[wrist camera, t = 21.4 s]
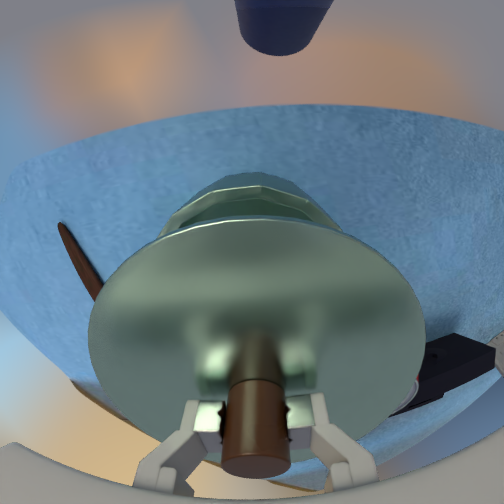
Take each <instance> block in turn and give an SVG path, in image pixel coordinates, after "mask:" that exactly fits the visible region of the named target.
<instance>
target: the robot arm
mask: <svg viewBox="0 0 504 504" xmlns="http://www.w3.org/2000/svg"><path fill="white" fill-rule="evenodd" d="M285 405H286V415H287V430H288V438H289V445H290V450H297V449H307V448H310V450H311V451H312V452H313V453H314V454H315V455H316V456H317V458H318V459H319V460H320V461H321V462H322V463H323V464H324V465H325V466H326V467H327V468H328V469H329V473H328V476H327V479H326V483H325V486H324V490H325V493H324V494H317V495H311V496H302V497H292V498H280V499H259V500H232V499H212V498H200V497H194V490H193V489H192V488H191V487H190V486H189V484H188V483H187V482H186V481H185V480H186V479H187V478H188V476H189V475H190V474H191V473H192V472H193V471H194V470H195V468H196V467H197V466H198V465H199V464H200V463H201V461H202V460H203V459H204V458H205V457H206V455H207V454H208V453H222V444H223V435H224V426H225V416H226V403H225V401H223V400H188V401H187V402H186V405H185V410H184V414H183V418H182V422H181V426H180V430H176V431H175V432H174V433H172V434H171V435H170V436H169V437H168V438H167V439H166V440H165V441H163V442H162V443H161V444H160V445H159V446H158V447H156V448H155V449H154V450H153V451H152V452H151V453H149V454H148V455H147V456H146V457H145V458H143V459H142V460H141V461H140V462H139V465H138V468H137V472H136V476H135V479H134V482H133V486H128V485H124V484H121V483H117V482H113V481H109V480H106V479H103V478H100V477H97V476H93V475H91V474H88V473H85V472H82V471H79V470H76V469H74V468H71V467H69V466H66V465H63V464H61V463H59V462H56V461H54V460H52V459H50V458H47V457H45V456H43V455H41V454H39V453H36V452H34V451H33V450H31V449H29V448H27V447H25V446H23V445H21V444H19V443H17V442H12V443H10V444H7V445H6V446H3V447H1V448H0V504H504V426H502V427H501V428H499V429H498V430H496V431H495V432H493V433H491V434H490V435H488V436H486V437H484V438H483V439H481V440H479V441H477V442H475V443H474V444H472V445H470V446H468V447H466V448H464V449H462V450H460V451H458V452H456V453H454V454H452V455H450V456H447V457H445V458H443V459H441V460H438V461H436V462H434V463H431V464H429V465H426V466H424V467H421V468H419V469H416V470H413V471H410V472H408V473H405V474H402V475H399V476H396V477H393V478H389V479H386V480H383V481H379V477H378V473H377V469H376V466H375V462H374V458H373V455H372V454H371V453H370V452H369V451H367V450H366V449H365V448H363V447H362V446H361V445H360V444H358V443H357V442H356V441H355V440H353V439H352V438H351V437H350V436H349V435H347V434H346V433H345V432H344V431H342V430H341V429H340V428H339V427H338V426H336V425H335V424H334V423H331V424H330V421H329V416H328V412H327V407H326V402H325V398H324V394H323V392H319V393H312V394H302V395H294V396H286V397H285Z"/></svg>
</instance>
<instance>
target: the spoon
mask: <svg viewBox="0 0 504 504" xmlns="http://www.w3.org/2000/svg"><path fill="white" fill-rule="evenodd" d="M58 230H59V233H60V235H61V238H62V240H63V243H64V245H65V247H66V250H67V252H68V254H69V256H70V258H71V260H72V263H73V265H74V267H75V269H76V271H77V273H78V274H79V276H80V278H81V280H82V282H83V284H84V285H85V287H86V289H87V290H88V292H89V294H90V295H91V297H92V299H93V300H94V302H95V301H96V298H97V296H98V294H99V293H100V291H101V289H102V288H103V284H102V283H101V281H100V279H99V278H98V276H97V275H96V273H95V272H94V270H93V268H92V267H91V265H90V264H89V262H88V261H87V259H86V258H85V256H84V254H83V253H82V251H81V250H80V248H79V247H78V245H77V244H76V242H75V240H74V239H73V237H72V236H71V234H70V233H69V231H68V230H67V229H66V227H65V226H64V225H63V224H62V223H61V222H59V223H58Z"/></svg>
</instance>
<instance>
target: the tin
mask: <svg viewBox="0 0 504 504" xmlns="http://www.w3.org/2000/svg"><path fill="white" fill-rule="evenodd" d="M249 215H270V216H280V217H291V218H298V219H302V220H306V221H311V222H315V223H319V224H323V225H327V226H329V227H332V228H334V229H337V230H339V231H342V229H341V228H340V227H339V226H338V225H337V223H336V222H335V221H334V220H333V219H332V218H331V217H330V216H329V215H328V214H327V213H326V212H325V211H324V210H323V209H322V208H321V207H320V206H319V205H318V204H317V202H315V201H314V200H313V199H312V198H311V197H310V196H309V195H307V194H306V193H305V192H304V191H303V190H302V189H300V188H299V187H298V186H297V185H296V184H294V183H293V182H291V181H289V180H286V179H282V178H280V177H277V176H274V175H269V174H266V173H262V172H254V173H242V174H236V175H228V176H225V177H223V178H222V179H220V180H218V181H216V182H214V183H213V184H211V185H210V186H208V187H206V188H204V189H203V190H201V191H199V192H198V193H197V194H196V195H195V196H193V197H192V198H191V199H190V200H189V201H188V202H186V203H185V204H184V205H183V206H182V207H181V208H179V209H178V210H177V211H176V212H175V213H174V214H173V215H172V216H171V217H170V219H169V220H168V222H167V223H166V225H165V226H164V228H163V229H162V231H161V232H160V234H159V235H158V237H157V238H159V237H161V236H163V235H165V234H167V233H169V232H171V231H174V230H177V229H180V228H183V227H186V226H189V225H192V224H195V223H198V222H202V221H208V220H213V219H218V218H224V217H229V216H249ZM342 232H343V231H342ZM157 238H156V239H157Z"/></svg>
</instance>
